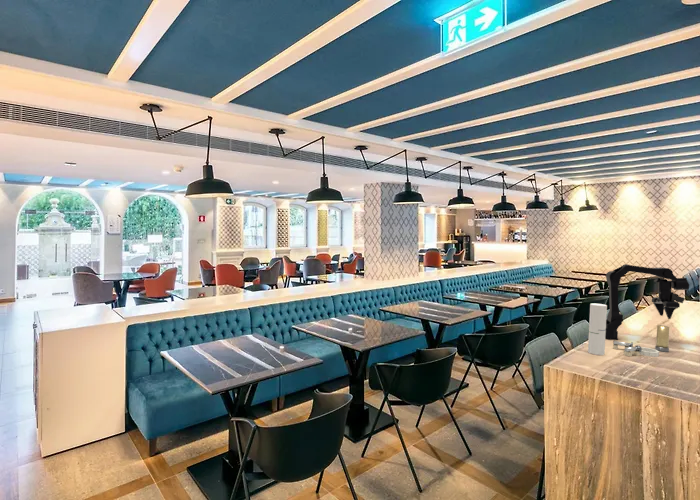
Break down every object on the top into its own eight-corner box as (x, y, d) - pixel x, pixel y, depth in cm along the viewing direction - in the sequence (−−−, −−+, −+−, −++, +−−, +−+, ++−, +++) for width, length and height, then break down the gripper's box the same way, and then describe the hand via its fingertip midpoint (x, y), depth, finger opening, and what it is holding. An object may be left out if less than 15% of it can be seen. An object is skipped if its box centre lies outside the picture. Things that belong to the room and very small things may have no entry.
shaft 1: (632, 350, 202) (632, 341, 202) (632, 351, 200) (632, 343, 200) (613, 347, 207) (613, 339, 207) (613, 348, 205) (613, 340, 205)
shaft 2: (635, 353, 197) (635, 344, 197) (641, 355, 194) (642, 346, 194) (623, 354, 195) (623, 345, 194) (629, 356, 192) (629, 347, 191)
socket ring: (641, 355, 194) (641, 351, 194) (632, 350, 203) (632, 346, 203) (663, 357, 192) (663, 353, 192) (652, 351, 201) (652, 348, 201)
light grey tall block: (607, 355, 192) (609, 306, 191) (591, 354, 194) (593, 305, 193) (600, 351, 199) (603, 303, 198) (585, 350, 201) (587, 303, 200)
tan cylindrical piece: (652, 349, 205) (654, 325, 204) (658, 348, 207) (659, 324, 207) (665, 352, 200) (666, 328, 199) (670, 351, 202) (672, 327, 202)
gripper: (691, 292, 207) (691, 320, 207) (673, 287, 224) (674, 314, 225) (666, 292, 210) (666, 320, 210) (651, 287, 228) (651, 314, 228)
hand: (665, 317), depth 218 cm, fingers open, 9 cm apart
